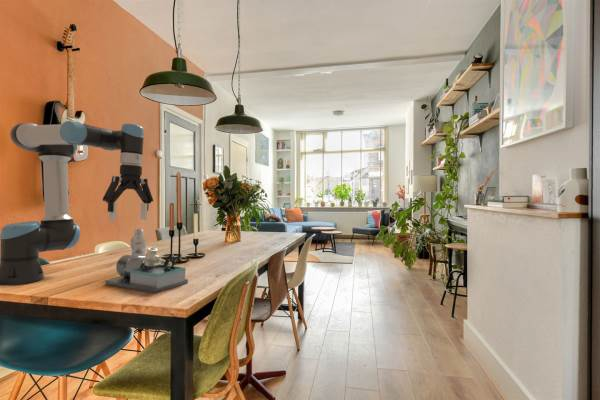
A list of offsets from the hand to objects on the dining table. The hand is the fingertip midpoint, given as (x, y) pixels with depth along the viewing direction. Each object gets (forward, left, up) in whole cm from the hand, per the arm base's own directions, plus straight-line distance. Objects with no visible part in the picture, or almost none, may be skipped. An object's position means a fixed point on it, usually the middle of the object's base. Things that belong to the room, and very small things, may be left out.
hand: (128, 220), depth 123 cm
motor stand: (+3, +7, -26) cm, 27 cm away
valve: (+8, +7, -19) cm, 22 cm away
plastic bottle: (-16, +18, -26) cm, 35 cm away
